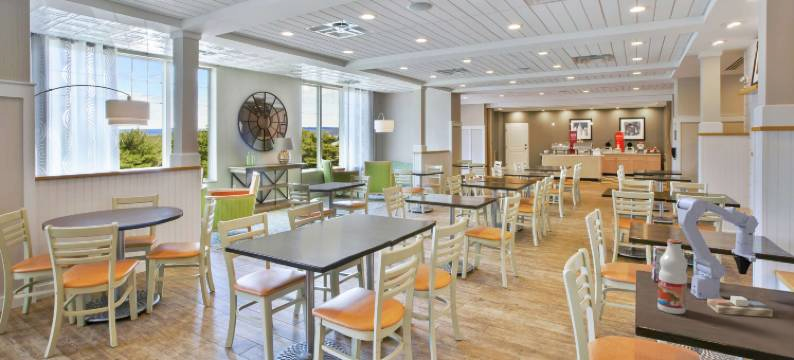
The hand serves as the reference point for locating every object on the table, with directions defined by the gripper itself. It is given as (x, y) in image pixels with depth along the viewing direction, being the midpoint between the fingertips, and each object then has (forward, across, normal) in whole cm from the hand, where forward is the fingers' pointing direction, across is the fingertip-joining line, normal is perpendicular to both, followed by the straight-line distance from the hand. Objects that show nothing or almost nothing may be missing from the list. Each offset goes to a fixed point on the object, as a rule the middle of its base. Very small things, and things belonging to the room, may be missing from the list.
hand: (742, 273), depth 185 cm
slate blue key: (+8, -19, +4) cm, 21 cm away
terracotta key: (+8, -19, +16) cm, 26 cm away
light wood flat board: (+9, -19, +10) cm, 23 cm away
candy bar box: (+10, +14, +24) cm, 29 cm away
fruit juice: (+10, -23, +35) cm, 43 cm away
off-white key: (+7, -19, +10) cm, 23 cm away
